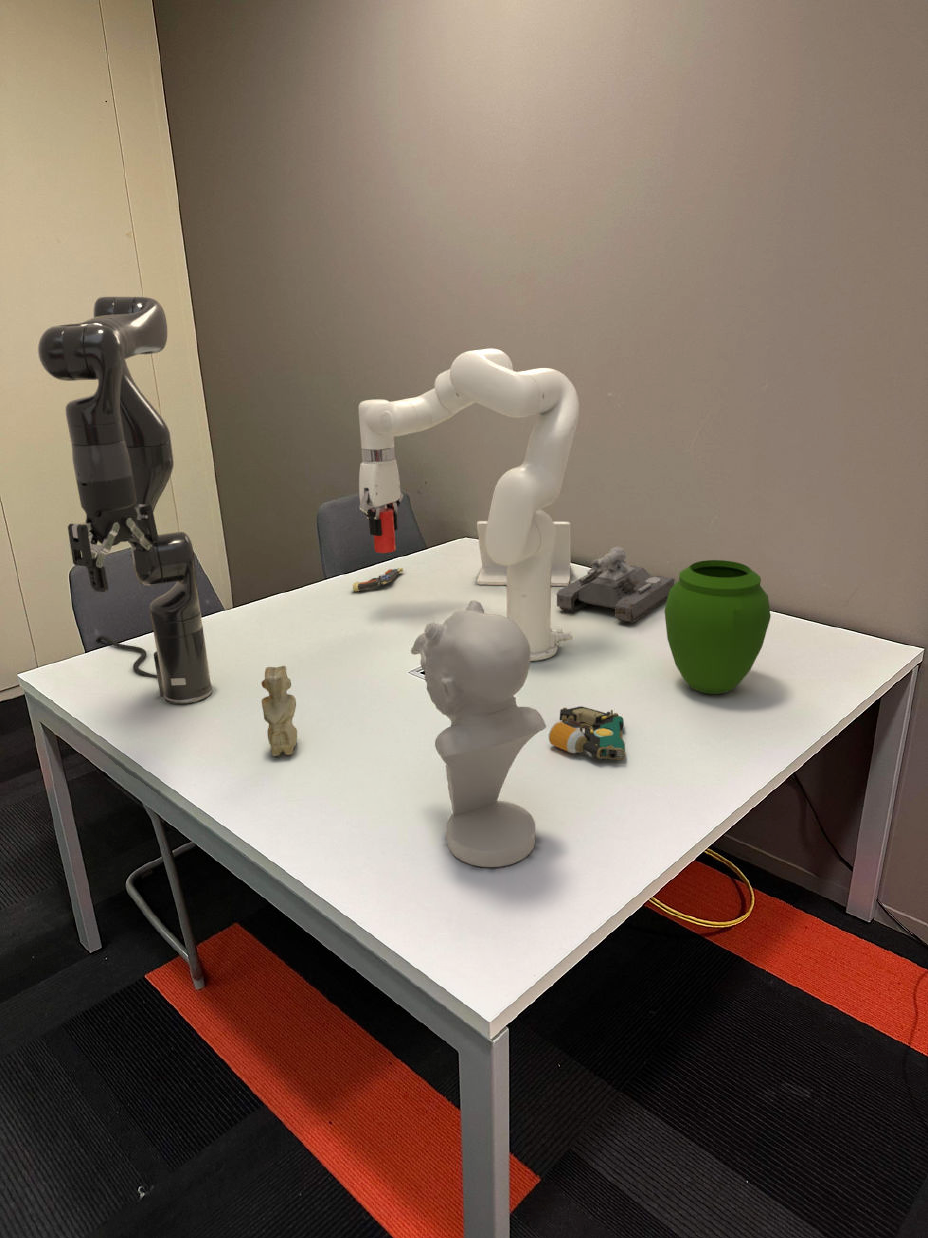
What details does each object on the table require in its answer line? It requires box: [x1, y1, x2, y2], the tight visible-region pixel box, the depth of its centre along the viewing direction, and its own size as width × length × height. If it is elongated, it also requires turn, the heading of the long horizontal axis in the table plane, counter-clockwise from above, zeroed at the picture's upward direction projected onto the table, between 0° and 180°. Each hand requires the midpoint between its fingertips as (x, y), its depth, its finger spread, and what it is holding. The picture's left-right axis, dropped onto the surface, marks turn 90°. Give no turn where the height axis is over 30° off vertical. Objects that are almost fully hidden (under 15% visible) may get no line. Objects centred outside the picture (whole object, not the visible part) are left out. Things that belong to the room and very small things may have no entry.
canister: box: [372, 507, 397, 554], centre depth 202 cm, size 5×5×10 cm
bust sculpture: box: [410, 599, 547, 868], centre depth 121 cm, size 16×24×35 cm
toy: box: [556, 546, 676, 624], centre depth 212 cm, size 25×20×15 cm
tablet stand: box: [476, 520, 572, 587], centre depth 236 cm, size 18×25×17 cm
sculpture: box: [261, 665, 298, 757], centre depth 147 cm, size 6×7×15 cm
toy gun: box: [352, 567, 404, 592], centre depth 236 cm, size 3×19×10 cm
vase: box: [664, 559, 772, 695], centre depth 164 cm, size 20×20×24 cm
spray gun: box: [548, 705, 626, 761], centre depth 149 cm, size 4×17×15 cm
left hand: (123, 582), depth 127 cm, fingers open, 8 cm apart
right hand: (383, 531), depth 202 cm, fingers closed on canister, 5 cm apart
